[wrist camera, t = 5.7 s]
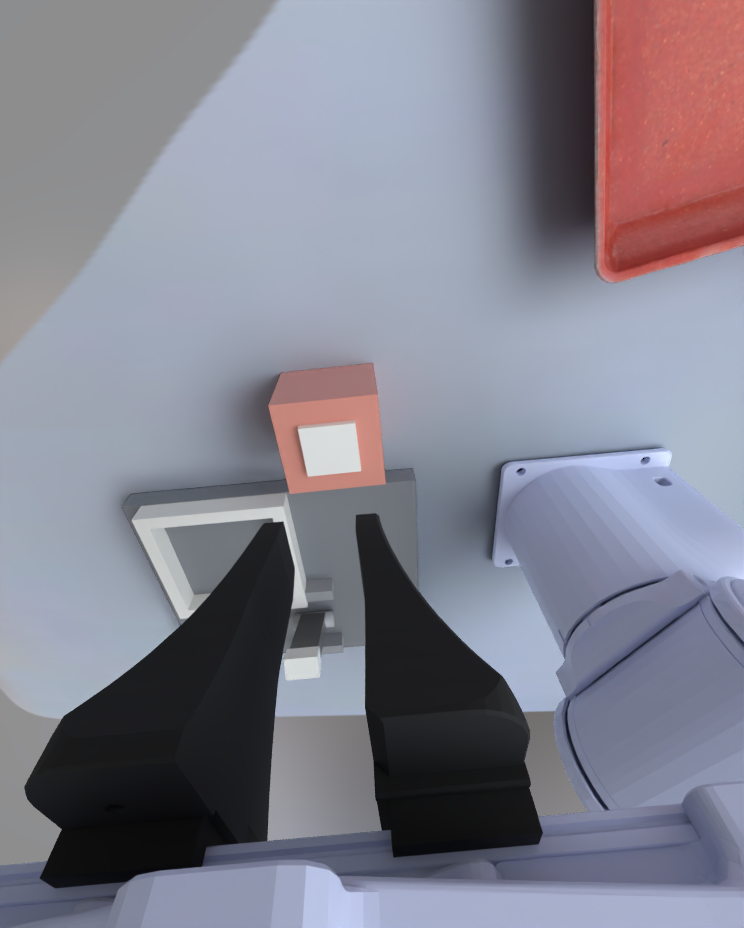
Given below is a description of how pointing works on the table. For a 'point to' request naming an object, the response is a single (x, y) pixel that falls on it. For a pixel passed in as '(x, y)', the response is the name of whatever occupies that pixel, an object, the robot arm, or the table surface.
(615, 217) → the plant saucer
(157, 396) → the table surface
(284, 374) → the pink cube
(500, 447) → the table surface
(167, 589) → the panel
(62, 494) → the table surface
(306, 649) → the lever
